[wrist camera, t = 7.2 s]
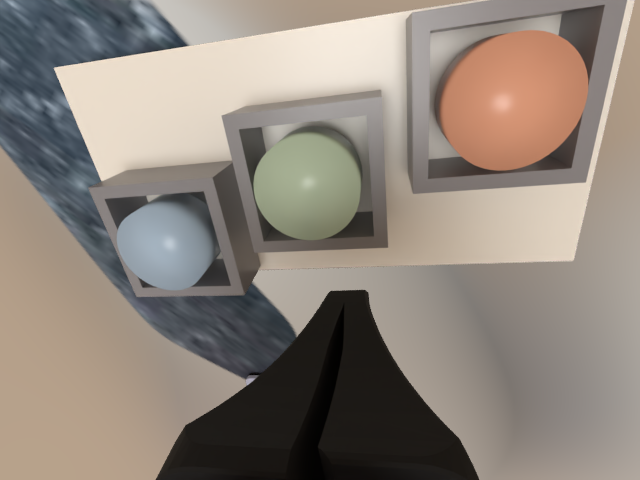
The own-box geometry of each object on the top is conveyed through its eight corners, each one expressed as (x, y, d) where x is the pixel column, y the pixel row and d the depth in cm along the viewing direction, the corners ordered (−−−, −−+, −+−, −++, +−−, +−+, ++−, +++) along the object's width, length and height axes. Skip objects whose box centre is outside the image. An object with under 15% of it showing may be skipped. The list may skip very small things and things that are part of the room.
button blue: (232, 264, 19) (215, 289, 17) (161, 266, 20) (136, 291, 18) (211, 188, 17) (189, 207, 15) (133, 194, 18) (102, 213, 16)
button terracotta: (544, 149, 14) (573, 165, 12) (433, 158, 15) (442, 175, 13) (565, 25, 12) (603, 19, 10) (435, 43, 13) (447, 41, 11)
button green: (365, 215, 17) (363, 237, 15) (278, 220, 18) (264, 242, 16) (358, 120, 15) (355, 131, 13) (260, 131, 16) (242, 143, 14)
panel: (556, 242, 20) (605, 294, 15) (157, 257, 24) (110, 301, 20) (608, -17, 14) (707, -48, 10) (83, 66, 19) (-3, 70, 15)
